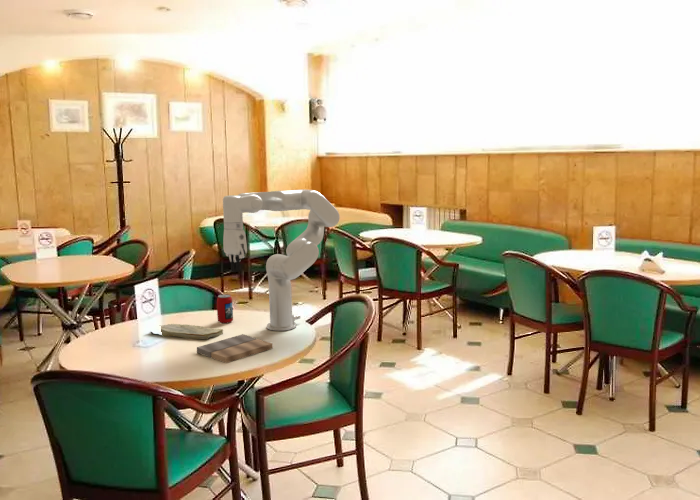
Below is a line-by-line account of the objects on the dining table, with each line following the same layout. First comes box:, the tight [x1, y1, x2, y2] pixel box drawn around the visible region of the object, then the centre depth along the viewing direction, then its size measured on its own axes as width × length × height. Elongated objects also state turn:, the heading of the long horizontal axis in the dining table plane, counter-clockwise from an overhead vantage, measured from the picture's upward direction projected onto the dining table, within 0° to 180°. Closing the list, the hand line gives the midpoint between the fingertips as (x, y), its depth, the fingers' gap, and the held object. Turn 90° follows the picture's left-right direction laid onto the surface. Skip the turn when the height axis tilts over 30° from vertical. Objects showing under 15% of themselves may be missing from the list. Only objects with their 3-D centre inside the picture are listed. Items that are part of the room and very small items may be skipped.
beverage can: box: [216, 293, 234, 324], centre depth 287 cm, size 7×7×12 cm
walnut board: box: [211, 338, 274, 364], centre depth 244 cm, size 22×9×2 cm, turn 138°
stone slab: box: [160, 323, 224, 340], centre depth 270 cm, size 12×4×30 cm
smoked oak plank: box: [196, 333, 257, 359], centre depth 250 cm, size 22×9×2 cm, turn 138°
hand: (235, 271), depth 261 cm, fingers closed
